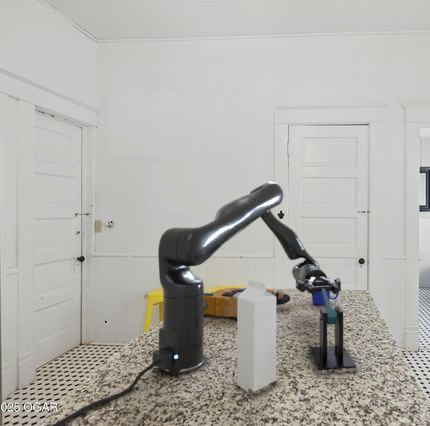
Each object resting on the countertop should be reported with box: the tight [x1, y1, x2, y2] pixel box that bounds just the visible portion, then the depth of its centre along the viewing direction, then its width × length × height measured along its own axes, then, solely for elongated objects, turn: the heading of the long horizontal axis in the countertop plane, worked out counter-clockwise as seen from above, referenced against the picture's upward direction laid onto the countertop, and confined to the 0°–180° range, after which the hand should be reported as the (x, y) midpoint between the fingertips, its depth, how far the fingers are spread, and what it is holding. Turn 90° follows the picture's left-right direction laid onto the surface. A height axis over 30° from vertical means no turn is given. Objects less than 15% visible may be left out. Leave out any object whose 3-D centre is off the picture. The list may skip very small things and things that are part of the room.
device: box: [204, 287, 291, 319], centre depth 117 cm, size 23×8×30 cm
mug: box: [311, 277, 340, 306], centre depth 128 cm, size 8×12×10 cm
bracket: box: [309, 306, 357, 371], centre depth 77 cm, size 12×9×13 cm
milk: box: [236, 279, 277, 393], centre depth 66 cm, size 6×6×22 cm
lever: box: [314, 286, 337, 326], centre depth 82 cm, size 13×6×2 cm, turn 9°
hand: (324, 290), depth 85 cm, fingers closed on lever, 5 cm apart
